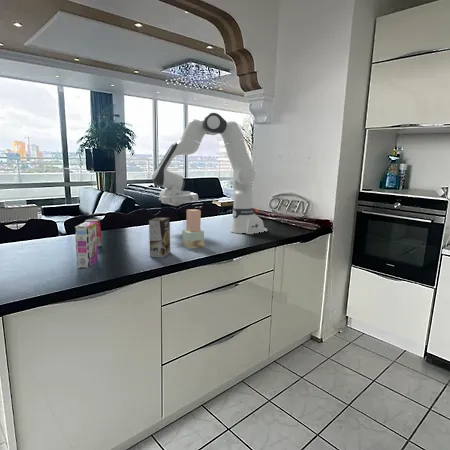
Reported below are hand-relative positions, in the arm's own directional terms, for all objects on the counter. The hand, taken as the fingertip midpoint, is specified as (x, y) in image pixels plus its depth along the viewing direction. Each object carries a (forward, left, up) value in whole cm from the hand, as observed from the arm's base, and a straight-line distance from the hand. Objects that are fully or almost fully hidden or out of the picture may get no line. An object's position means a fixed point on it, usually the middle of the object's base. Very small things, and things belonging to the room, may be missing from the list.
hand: (185, 199), depth 174 cm
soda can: (+45, -7, -21) cm, 50 cm away
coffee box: (+22, +22, -21) cm, 38 cm away
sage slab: (+3, +16, -17) cm, 23 cm away
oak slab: (+3, +16, -21) cm, 26 cm away
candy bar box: (+52, +22, -21) cm, 61 cm away
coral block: (+3, +15, -13) cm, 20 cm away
